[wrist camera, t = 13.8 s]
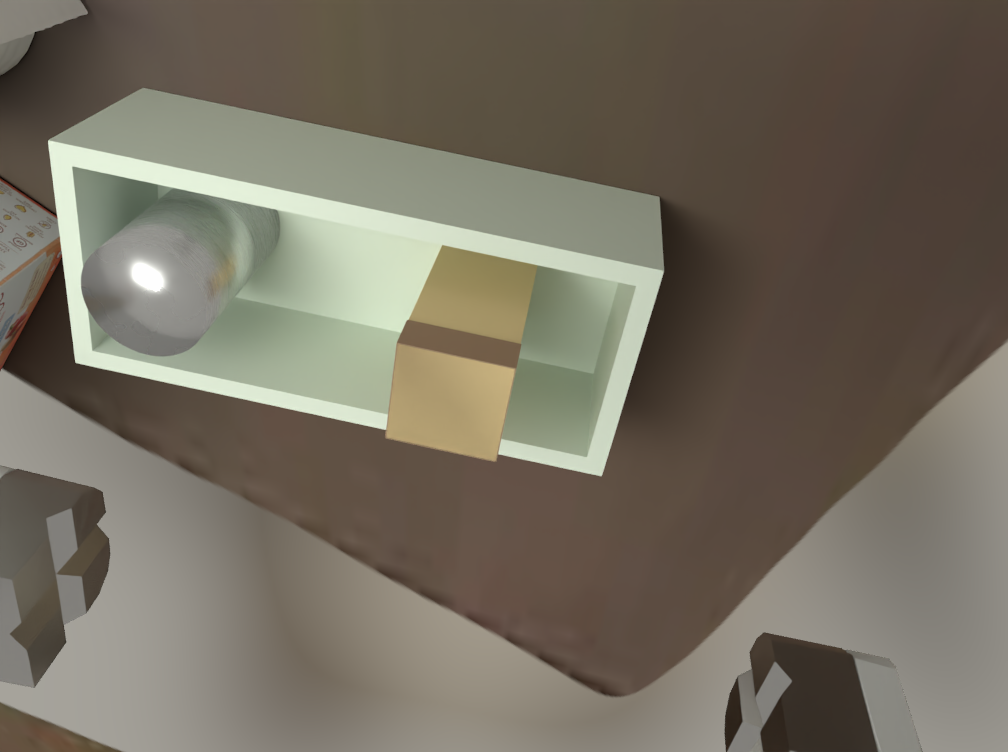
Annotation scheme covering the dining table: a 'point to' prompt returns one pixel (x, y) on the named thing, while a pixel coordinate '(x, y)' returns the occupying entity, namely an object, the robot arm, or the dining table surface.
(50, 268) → the cracker box
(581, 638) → the dining table surface
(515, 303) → the oat carton
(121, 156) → the tote
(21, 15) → the toilet tissue
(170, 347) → the tin can
